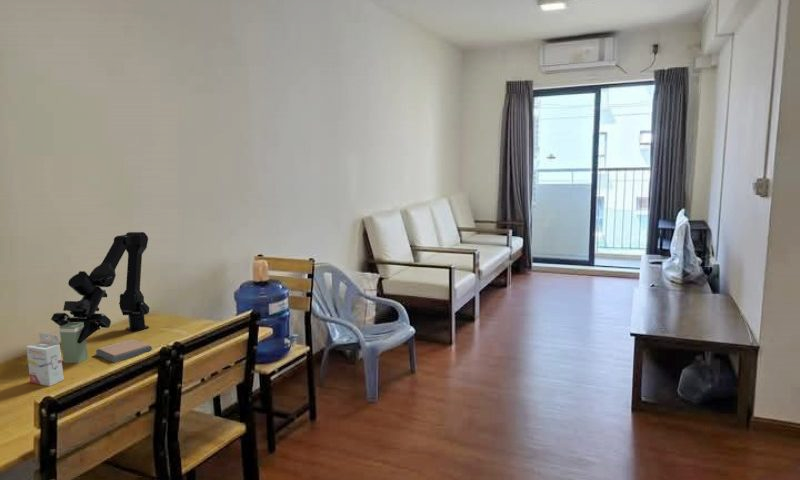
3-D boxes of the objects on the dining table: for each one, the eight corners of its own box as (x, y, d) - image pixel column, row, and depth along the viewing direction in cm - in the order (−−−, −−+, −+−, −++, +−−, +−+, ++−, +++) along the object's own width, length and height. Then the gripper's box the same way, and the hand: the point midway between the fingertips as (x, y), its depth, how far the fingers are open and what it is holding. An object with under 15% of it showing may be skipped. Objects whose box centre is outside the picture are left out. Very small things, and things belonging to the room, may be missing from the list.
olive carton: (63, 362, 177) (59, 326, 175) (73, 357, 181) (69, 322, 180) (78, 363, 176) (74, 327, 174) (88, 358, 181) (84, 323, 179)
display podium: (96, 354, 184) (95, 348, 183) (133, 344, 194) (132, 338, 194) (114, 362, 176) (113, 356, 176) (151, 351, 186) (151, 345, 186)
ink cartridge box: (29, 383, 161) (23, 337, 158) (44, 376, 165) (39, 331, 163) (49, 386, 158) (43, 339, 156) (64, 380, 162) (59, 334, 160)
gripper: (51, 290, 180) (29, 331, 171) (101, 290, 178) (82, 332, 169) (71, 306, 189) (51, 346, 180) (119, 307, 187) (101, 347, 178)
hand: (70, 342), depth 176 cm, fingers closed on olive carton, 5 cm apart
